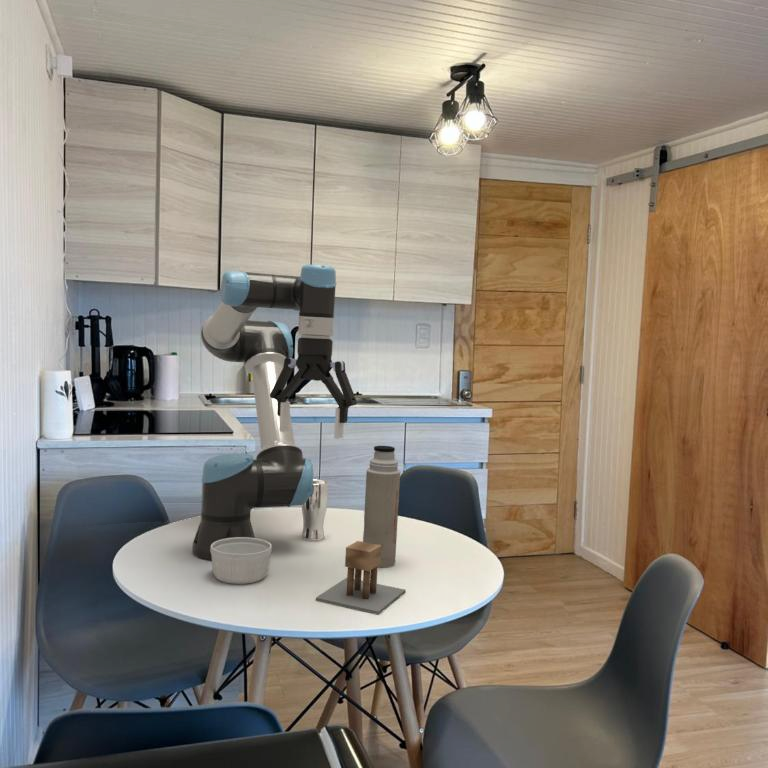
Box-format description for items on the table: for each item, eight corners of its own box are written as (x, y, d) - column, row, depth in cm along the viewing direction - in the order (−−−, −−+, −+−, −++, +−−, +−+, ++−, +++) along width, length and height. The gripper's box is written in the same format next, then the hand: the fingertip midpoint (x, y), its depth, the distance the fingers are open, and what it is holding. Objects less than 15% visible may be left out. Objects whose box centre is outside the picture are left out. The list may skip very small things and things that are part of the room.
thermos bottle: (397, 559, 174) (404, 445, 172) (391, 569, 166) (398, 450, 164) (366, 555, 176) (372, 442, 174) (358, 565, 168) (364, 447, 166)
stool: (343, 595, 147) (345, 547, 146) (355, 587, 152) (357, 540, 151) (367, 600, 145) (370, 552, 144) (378, 592, 150) (381, 545, 149)
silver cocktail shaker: (331, 537, 189) (333, 481, 188) (315, 543, 184) (317, 485, 182) (310, 532, 193) (313, 477, 192) (294, 538, 187) (296, 481, 186)
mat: (315, 600, 145) (315, 597, 145) (346, 580, 158) (346, 577, 158) (378, 614, 139) (378, 611, 139) (405, 592, 152) (405, 589, 152)
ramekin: (238, 562, 166) (239, 533, 165) (283, 574, 159) (284, 544, 159) (196, 577, 154) (197, 546, 154) (242, 591, 148) (244, 558, 147)
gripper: (257, 334, 156) (253, 430, 158) (359, 340, 146) (354, 442, 148) (275, 334, 163) (271, 427, 165) (375, 340, 153) (369, 438, 155)
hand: (310, 434), depth 156 cm, fingers open, 13 cm apart
